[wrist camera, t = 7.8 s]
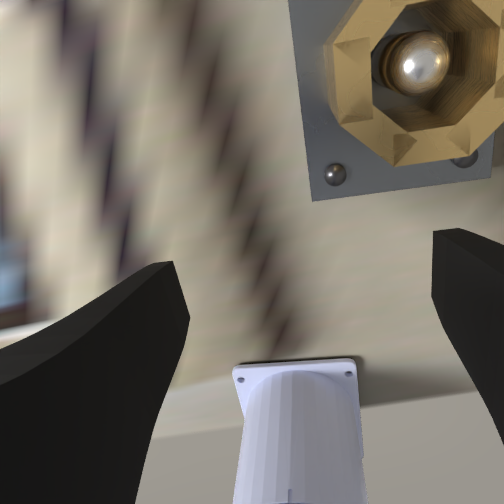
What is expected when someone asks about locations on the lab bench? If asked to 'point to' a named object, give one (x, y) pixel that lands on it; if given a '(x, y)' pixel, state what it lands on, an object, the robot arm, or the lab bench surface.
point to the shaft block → (383, 97)
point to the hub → (428, 105)
